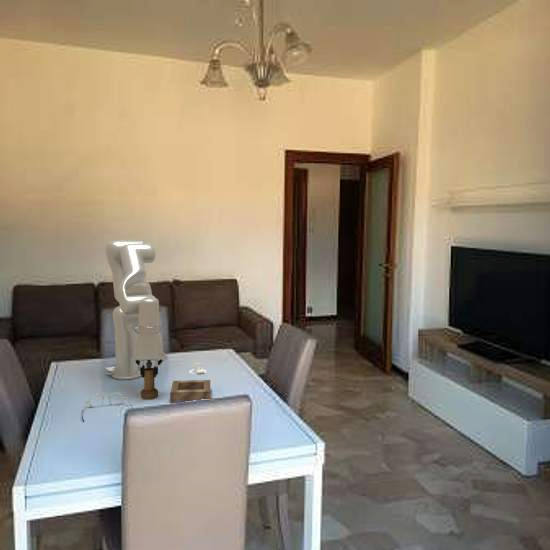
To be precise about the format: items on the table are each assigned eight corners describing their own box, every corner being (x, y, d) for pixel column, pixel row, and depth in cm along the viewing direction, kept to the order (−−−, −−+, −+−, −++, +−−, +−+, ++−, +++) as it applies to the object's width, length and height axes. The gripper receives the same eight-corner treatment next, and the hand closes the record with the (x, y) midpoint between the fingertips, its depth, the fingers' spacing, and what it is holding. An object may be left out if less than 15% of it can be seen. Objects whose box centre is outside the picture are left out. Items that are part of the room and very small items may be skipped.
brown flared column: (142, 400, 197) (142, 354, 195) (138, 395, 203) (138, 350, 201) (160, 398, 200) (159, 352, 198) (155, 393, 206) (155, 348, 204)
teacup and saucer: (204, 375, 233) (204, 366, 233) (187, 375, 233) (187, 366, 233) (207, 370, 242) (207, 361, 241) (190, 369, 242) (190, 361, 241)
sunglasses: (130, 404, 194) (129, 391, 194) (133, 418, 180) (133, 404, 180) (81, 408, 188) (81, 395, 188) (81, 423, 174) (81, 409, 174)
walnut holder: (170, 402, 195) (170, 392, 195) (173, 390, 210) (173, 380, 209) (210, 401, 197) (210, 391, 196) (210, 389, 212) (210, 379, 211)
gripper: (125, 332, 194) (125, 379, 196) (170, 331, 196) (170, 378, 198) (128, 328, 202) (128, 374, 203) (171, 327, 204) (171, 373, 205)
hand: (149, 376), depth 201 cm, fingers closed on brown flared column, 3 cm apart
